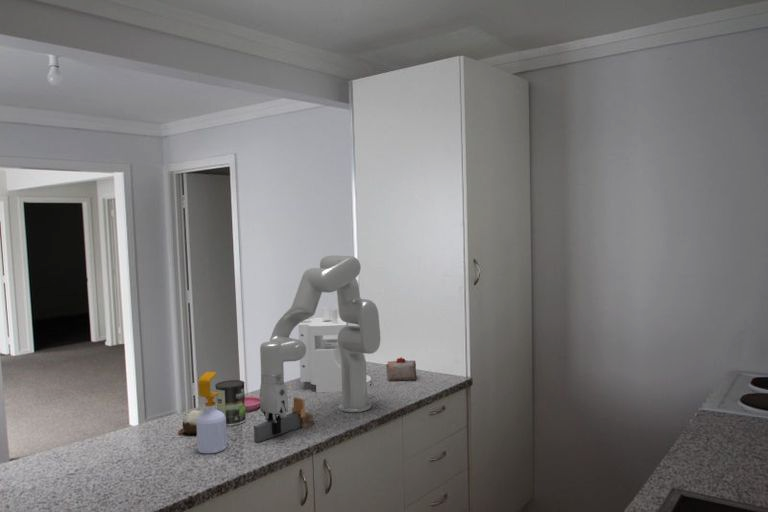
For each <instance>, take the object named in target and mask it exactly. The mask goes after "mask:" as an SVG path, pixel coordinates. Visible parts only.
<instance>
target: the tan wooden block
mask: <svg viewBox="0 0 768 512" xmlns="http://www.w3.org/2000/svg"><path fill="white" fill-rule="evenodd" d="M305 401H306V400H305V398H301V397H296V396H295V397H293V406H292V407H291V413H293V412H297V413H300V418H302V417H304V416H305V412H306V403H305Z"/></svg>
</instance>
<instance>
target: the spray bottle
mask: <svg viewBox="0 0 768 512" xmlns="http://www.w3.org/2000/svg"><path fill="white" fill-rule="evenodd" d="M215 376H217V372H216V371H206V372H204V374H202V375H201V376H200V377H199V379H198V382H197V383H198V394H199V395H198V396H199V397H201V398H205V400H207V402H205V403H204V411H203V412H202V413H201V414H200V415H199V416H198V417H197V420H196V425H197V437H196V442H197V445H196V446H197V451H198V452H199V453H202V454H205V455H206V454H208V455H209V454H210V453H211V454H217V453H220V452H222V451H224V450H226V449H227V446H228V439H227V435H228V434H227V426H226V417H225V415H224V413H222V412H221V411H218V410H217V401H214V399H215V397H216V395H218V394H219V393H217V392H216V391H211V381H212V380H213V378H215Z"/></svg>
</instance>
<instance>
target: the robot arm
mask: <svg viewBox="0 0 768 512" xmlns="http://www.w3.org/2000/svg"><path fill="white" fill-rule="evenodd" d="M360 272H361V263H360V260H358V258H357V257H355V256H351V255H326V256H324V257H323V258H321V259H320V262H319V267H312V268H311V267H310V268H309V269H306V270H305V271H304V272H303V275H302V276H301V279H300V281H299V284H298V288H297V290H296V294H295V297H294V299H293V302H292V304H291V306H290V308H288V310H287V311H286V312H285V313H284V314H283V315H282V316H281V317H280V318H279V320H278V321H277V322H276V324H275V326H274V328H273V330H272V333H271V336H270V338H269V341H265V342H262V343H261V344H260V347H259V348H260V349H259V353H260V357H259V358H260V387H259V398H260V406H259V408H260V412H261V413H263V415H264V417H265V418H264V419H265V422H267V421H270V420H273V422H274V423H272V434H273V435H275V434H278V433H281V421H282V419H283V418H284V417H287V412H288V411H289V399H288V389H287V385H286V382H285V379H284V378H285V377H284V376H285V375H284V374H285V373H284V372H285V371H284V363H285V362H286V363H287V362H297V361H300V359H302V358H303V357H304V355H305V354H306V346H305V344H304V343H303V342H302V341H300V340H299V338H291V337H290V336H291V333H292V332H293V330H295V328H296V326H297V325H299V323H301V322H302V321H304V320H309V319H310V318H312V317H313V316H314V315H315V314H316V311H317V307H318V304H319V301H320V299H321V297H322V294H323V293H326V294H327V293H329V294H330V293H334V292H336V294H337V295H336V296H337V304H338V308H339V317H340V318H341V320H342V321H344V322H346V323H348V324H353V325H348V326H346V327H343V328H342V329H341V330H340V331H339V333H338V335H337V339H338V346H339V350H340V355H341V373H342V392H341V393H342V397H341V399H342V401H341V403H339V404H338V410H340V411H341V412H344V413H361V412H362V413H363V412H366V411H369V410H370V409H371V408H372V402H370V400H372V399H374V398H375V397H376V394H375V393H374V392H372V393H368V387H367V381H366V375H367V361H366V357H365V354H368V355H370V354H375V353H376V352H377V351H378V349H379V348H380V345H381V329H380V328H381V327H380V317H379V310H378V307H377V305H376V303H374V302H373V301H372V300H370V299H365V298H361V294H360V288H359V287H360V286H359V283H358V280H357V277H358V276H359V275H360ZM357 325H358V326H357Z"/></svg>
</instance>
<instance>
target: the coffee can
mask: <svg viewBox="0 0 768 512" xmlns="http://www.w3.org/2000/svg"><path fill="white" fill-rule="evenodd" d="M214 386H215V392H217V393H219V394H218V395H216V396H215V397H216V398H215V400H216V401H215V402H216V409H217V410H218V411H221V412H222V413H224V415H225V417H226V427H231V426H233V425H234V426H238V425H240V424H241V423H242V424H244V423H245V422H246V421H247V418H246V412H245V397H246V395H245V394H246V392H245V381H243V380H240V379H230V380H224V381H220V382H217V383H216V384H215V385H214ZM234 426H233V427H234Z"/></svg>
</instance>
